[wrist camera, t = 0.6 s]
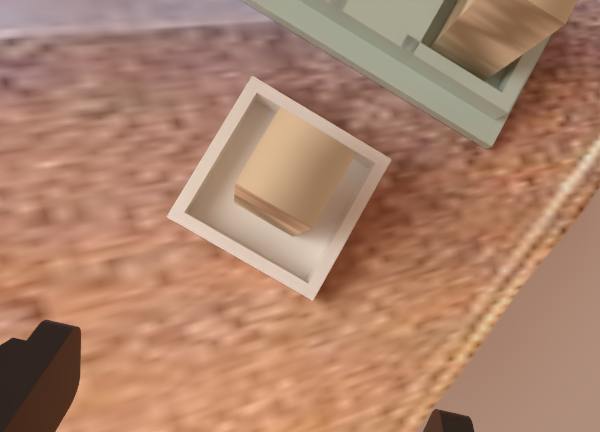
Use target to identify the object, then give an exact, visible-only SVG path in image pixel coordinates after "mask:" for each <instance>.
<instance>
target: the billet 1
mask: <svg viewBox="0 0 600 432" xmlns="http://www.w3.org/2000/svg"><path fill="white" fill-rule="evenodd" d="M355 154H356V152H355V151H354V150H352V149H350V148H349V147H347V146H345V145H344V144H342V143H340V142H339V141H337V140H335V139H334V138H332V137H330V136H329V135H327V134H325V133H324V132H322V131H320V130H319V129H317V128H315V127H314V126H312V125H310V124H309V123H307V122H305V121H304V120H302V119H300V118H299V117H297V116H295V115H293V114H292V113H290V112H288V111H287V110H285V109H283V108H282V107H280V108H279V110H278V111H277V113H276V115H275V117H274V118H273V120H272V122H271V123H270V125H269V127H268V128H267V130H266V132H265V133H264V135H263V137H262V138H261V140H260V142H259V143H258V145H257V147H256V149H255V150H254V152H253V154H252V155H251V157H250V159H249V160H248V162H247V164H246V165H245V167H244V169H243V170H242V172H241V174H240V175H239V177H238V179H237V181H236V182H235V192H234V203H235V204H237V205H238V206H240V207H242V208H244V209H245V210H247V211H249V212H251V213H252V214H254V215H256V216H257V217H259V218H261V219H263V220H264V221H266V222H268V223H269V224H271V225H273V226H275V227H276V228H278V229H280V230H282V231H283V232H285V233H287V234H288V235H290V236H295V235H297V234H300V233H303V232H305V231H308V230H311V229H313V228H314V227H315V225H316V223H317V221H318V220H319V218H320V216H321V214H322V212H323V211H324V209H325V207H326V205H327V204H328V202H329V200H330V198H331V197H332V195H333V193H334V191H335V190H336V188H337V186H338V184H339V182H340V181H341V179H342V177H343V175H344V174H345V172H346V170H347V168H348V167H349V165H350V163H351V161H352V160H353V158H354V156H355Z"/></svg>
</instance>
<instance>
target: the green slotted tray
mask: <svg viewBox="0 0 600 432" xmlns="http://www.w3.org/2000/svg"><path fill="white" fill-rule="evenodd" d="M241 1H243V2H244V3H246V4H248V5H249V6H251V7H253V8H254V9H256V10H258V11H259V12H261V13H263V14H264V15H266V16H268V17H269V18H271V19H272V20H274V21H276V22H277V23H279V24H281V25H282V26H284V27H286V28H287V29H289V30H291V31H292V32H294V33H295V34H297V35H299V36H300V37H302V38H304V39H305V40H307V41H309V42H310V43H312V44H314V45H315V46H317V47H318V48H320V49H322V50H323V51H325V52H327V53H328V54H330V55H332V56H333V57H335V58H337V59H338V60H340V61H342V62H343V63H345V64H346V65H348V66H350V67H351V68H353V69H355V70H356V71H358V72H360V73H361V74H363V75H365V76H366V77H368V78H369V79H371V80H373V81H374V82H376V83H378V84H379V85H381V86H383V87H384V88H386V89H388V90H389V91H391V92H392V93H394V94H396V95H397V96H399V97H401V98H402V99H404V100H406V101H407V102H409V103H411V104H412V105H414V106H416V107H417V108H419V109H420V110H422V111H424V112H425V113H427V114H429V115H430V116H432V117H434V118H435V119H437V120H439V121H440V122H442V123H443V124H445V125H447V126H448V127H450V128H452V129H453V130H455V131H457V132H458V133H460V134H462V135H463V136H465V137H467V138H468V139H470V140H471V141H473V142H475V143H476V144H478V145H480V146H481V147H483V148H485V149H488V148H490V147H492V146H493V144H494V142H495V140H496V138H497V137H498V135H499V133H500V131H501V129H502V127H503V125H504V123H505V122H506V120H507V118H508V116H509V114H510V112H511V110H512V108H513V106H514V105H515V103H516V101H517V99H518V97H519V95H520V93H521V91H522V90H523V88H524V86H525V84H526V82H527V80H528V78H529V76H530V75H531V73H532V71H533V69H534V67H535V65H536V63H537V61H538V60H539V58H540V56H541V54H542V52H543V50H544V48H545V46H546V44H547V43H548V41H549V39H550V37H551V35H552V34H551V35H550V36H548V37H547V38H545V39H544V40H542V41H541V42H540V43H538V44H537V45H535V46H534V47H532V48H531V49H530V50H528V51H527V52H525V53H524V54H522V55H521V56H520V57H518V58H517V59H515V60H514V61H512V62H511V63H510V64H508V65H507V66H505V67H504V68H502V69H501V70H500V71H498V72H497V73H495V74H494V75H493V76H491V77H490V78H488V79H487V80H485V81H482V80H481V79H479V78H477V77H476V76H474V75H473V74H471V73H469V72H468V71H466V70H465V69H463V68H461V67H460V66H458V65H456V64H455V63H453V62H452V61H450V60H448V59H447V58H445V57H443V56H442V55H440V54H439V53H437V52H435V51H434V50H432V49H431V48H430V47H431V45H432V44H433V42H434V40H435V38H436V36H437V35H438V33H439V31H440V29H441V28H442V26H443V24H444V22H445V20H446V19H447V17H448V15H449V13H450V12H451V10H452V8H453V6H454V4H455V3H456V1H457V0H241Z"/></svg>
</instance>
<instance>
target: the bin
mask: <svg viewBox="0 0 600 432" xmlns="http://www.w3.org/2000/svg"><path fill="white" fill-rule="evenodd" d="M280 107H282V108H283V109H285V110H287V111H288V112H290V113H292V114H293V115H295V116H297V117H299V118H300V119H302V120H304V121H305V122H307V123H309V124H310V125H312V126H314V127H315V128H317V129H319V130H320V131H322V132H324V133H325V134H327V135H329V136H330V137H332V138H334V139H335V140H337V141H339V142H340V143H342V144H344V145H345V146H347V147H349V148H350V149H352V150H354V151H355V152H356V154H355V156H354V158H353V160H352V161H351V163H350V165H349V167H348V168H347V170H346V172H345V174H344V175H343V177H342V179H341V181H340V182H339V184H338V186H337V188H336V190H335V191H334V193H333V195H332V197H331V198H330V200H329V202H328V204H327V205H326V207H325V209H324V211H323V212H322V214H321V216H320V218H319V220H318V221H317V223H316V225H315V227H314V228H313V229H311V230H308V231H305V232H303V233H300V234H297V235H295V236H290V235H288V234H287V233H285V232H283V231H282V230H280V229H278V228H276V227H275V226H273V225H271V224H269V223H268V222H266V221H264V220H263V219H261V218H259V217H257V216H256V215H254V214H252V213H251V212H249V211H247V210H245V209H244V208H242V207H240V206H238V205H237V204H235V203H234V192H235V182H236V181H237V179H238V177H239V175H240V174H241V172H242V170H243V169H244V167H245V165H246V164H247V162H248V160H249V159H250V157H251V155H252V154H253V152H254V150H255V149H256V147H257V145H258V143H259V142H260V140H261V138H262V137H263V135H264V133H265V132H266V130H267V128H268V127H269V125H270V123H271V122H272V120H273V118H274V117H275V115H276V113H277V111H278V110H279V108H280ZM391 160H392V159H391V158H389V157H387V156H386V155H384V154H382V153H381V152H379V151H377V150H375V149H374V148H372V147H370V146H369V145H367V144H365V143H364V142H362V141H360V140H359V139H357V138H355V137H354V136H352V135H350V134H349V133H347V132H345V131H344V130H342V129H340V128H339V127H337V126H335V125H334V124H332V123H330V122H329V121H327V120H325V119H324V118H322V117H320V116H319V115H317V114H315V113H314V112H312V111H310V110H309V109H307V108H305V107H304V106H302V105H300V104H299V103H297V102H295V101H294V100H292V99H290V98H289V97H287V96H285V95H284V94H282V93H280V92H279V91H277V90H275V89H274V88H272V87H270V86H269V85H267V84H265V83H264V82H262V81H260V80H259V79H257V78H255V77H254V76H252V77H251V79H250V80H249V82H248V83H247V85H246V87H245V88H244V90H243V92H242V93H241V95H240V97H239V98H238V100H237V102H236V103H235V105H234V107H233V108H232V110H231V112H230V113H229V115H228V116H227V118H226V120H225V121H224V123H223V125H222V126H221V128H220V130H219V131H218V133H217V135H216V136H215V138H214V140H213V141H212V143H211V144H210V146H209V148H208V149H207V151H206V153H205V154H204V156H203V158H202V159H201V161H200V163H199V164H198V166H197V168H196V169H195V171H194V173H193V174H192V176H191V177H190V179H189V181H188V182H187V184H186V186H185V187H184V189H183V191H182V192H181V194H180V196H179V197H178V199H177V201H176V202H175V204H174V206H173V207H172V209H171V210H170V212H169V214H168V215H167V218H169V219H170V220H172V221H174V222H176V223H177V224H179V225H181V226H182V227H184V228H186V229H188V230H189V231H191V232H193V233H195V234H196V235H198V236H200V237H202V238H203V239H205V240H207V241H209V242H210V243H212V244H214V245H216V246H217V247H219V248H221V249H223V250H224V251H226V252H228V253H230V254H231V255H233V256H235V257H237V258H238V259H240V260H242V261H244V262H245V263H247V264H249V265H251V266H252V267H254V268H256V269H258V270H259V271H261V272H263V273H265V274H266V275H268V276H270V277H272V278H273V279H275V280H277V281H279V282H280V283H282V284H284V285H285V286H287V287H289V288H291V289H292V290H294V291H296V292H298V293H299V294H301V295H303V296H305V297H306V298H308V299H310V300H312V301H313V300H314V298H315V296H316V295H317V293H318V291H319V289H320V287H321V286H322V284H323V282H324V280H325V278H326V277H327V275H328V273H329V271H330V269H331V268H332V266H333V264H334V262H335V260H336V259H337V257H338V255H339V253H340V251H341V250H342V248H343V246H344V244H345V242H346V241H347V239H348V237H349V235H350V233H351V232H352V230H353V228H354V226H355V224H356V223H357V221H358V219H359V217H360V215H361V214H362V212H363V210H364V208H365V207H366V205H367V203H368V201H369V199H370V198H371V196H372V194H373V192H374V190H375V189H376V187H377V185H378V183H379V181H380V180H381V178H382V176H383V174H384V172H385V171H386V169H387V167H388V165H389V163H390V162H391Z"/></svg>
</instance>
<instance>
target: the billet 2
mask: <svg viewBox="0 0 600 432" xmlns="http://www.w3.org/2000/svg"><path fill="white" fill-rule="evenodd" d="M577 2H578V0H457V1H456V3H455V4H454V6H453V8H452V10H451V12H450V13H449V15H448V17H447V19H446V20H445V22H444V24H443V26H442V28H441V29H440V31H439V33H438V35H437V36H436V38H435V40H434V42H433V44H432V45H431V47H430V48H431V49H432V50H434V51H435V52H437V53H439V54H440V55H442V56H443V57H445V58H447V59H448V60H450V61H452V62H453V63H455V64H456V65H458V66H460V67H461V68H463V69H465V70H466V71H468V72H469V73H471V74H473V75H474V76H476V77H477V78H479V79H481V80H482V81H485V80H487V79H488V78H490V77H491V76H493V75H494V74H495V73H497V72H498V71H500V70H501V69H502V68H504V67H505V66H507V65H508V64H510V63H511V62H512V61H514V60H515V59H517V58H518V57H520V56H521V55H522V54H524V53H525V52H527V51H528V50H530V49H531V48H532V47H534V46H535V45H537V44H538V43H540V42H541V41H542V40H544V39H545V38H547V37H548V36H550V35H551V34H552V33H554V32H555V31H557V30H558V29H559V28H561V27H562V26H564V25H565V24H566V23H567V21H568V19H569V17H570V15H571V13H572V11H573V9H574V7H575V6H576V4H577Z"/></svg>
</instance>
